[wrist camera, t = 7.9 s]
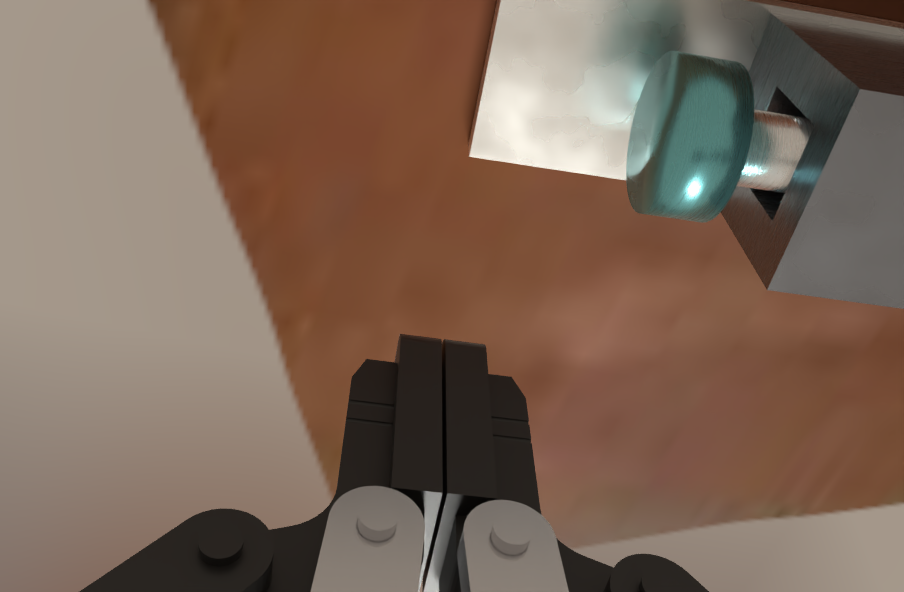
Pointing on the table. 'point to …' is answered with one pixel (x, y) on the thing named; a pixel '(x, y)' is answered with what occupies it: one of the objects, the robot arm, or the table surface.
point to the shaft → (705, 139)
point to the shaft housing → (775, 90)
